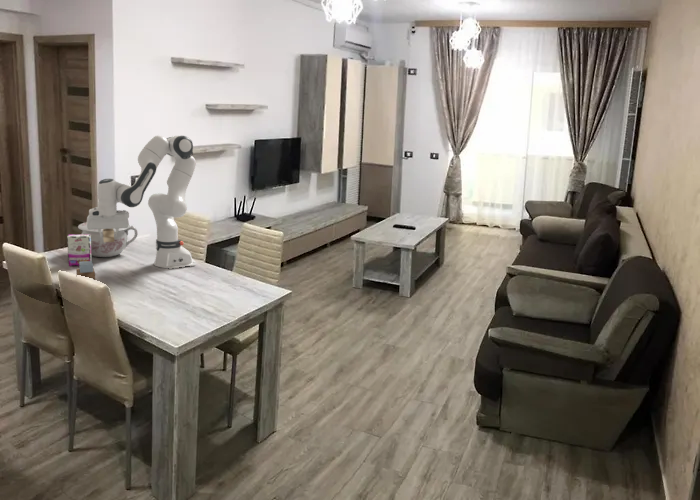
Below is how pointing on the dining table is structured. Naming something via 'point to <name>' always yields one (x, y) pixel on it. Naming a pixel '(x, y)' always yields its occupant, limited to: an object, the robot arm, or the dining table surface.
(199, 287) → the dining table surface
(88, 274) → the walnut block
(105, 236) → the maple block
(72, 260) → the candy bar box
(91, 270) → the slate block
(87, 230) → the chamber pot
